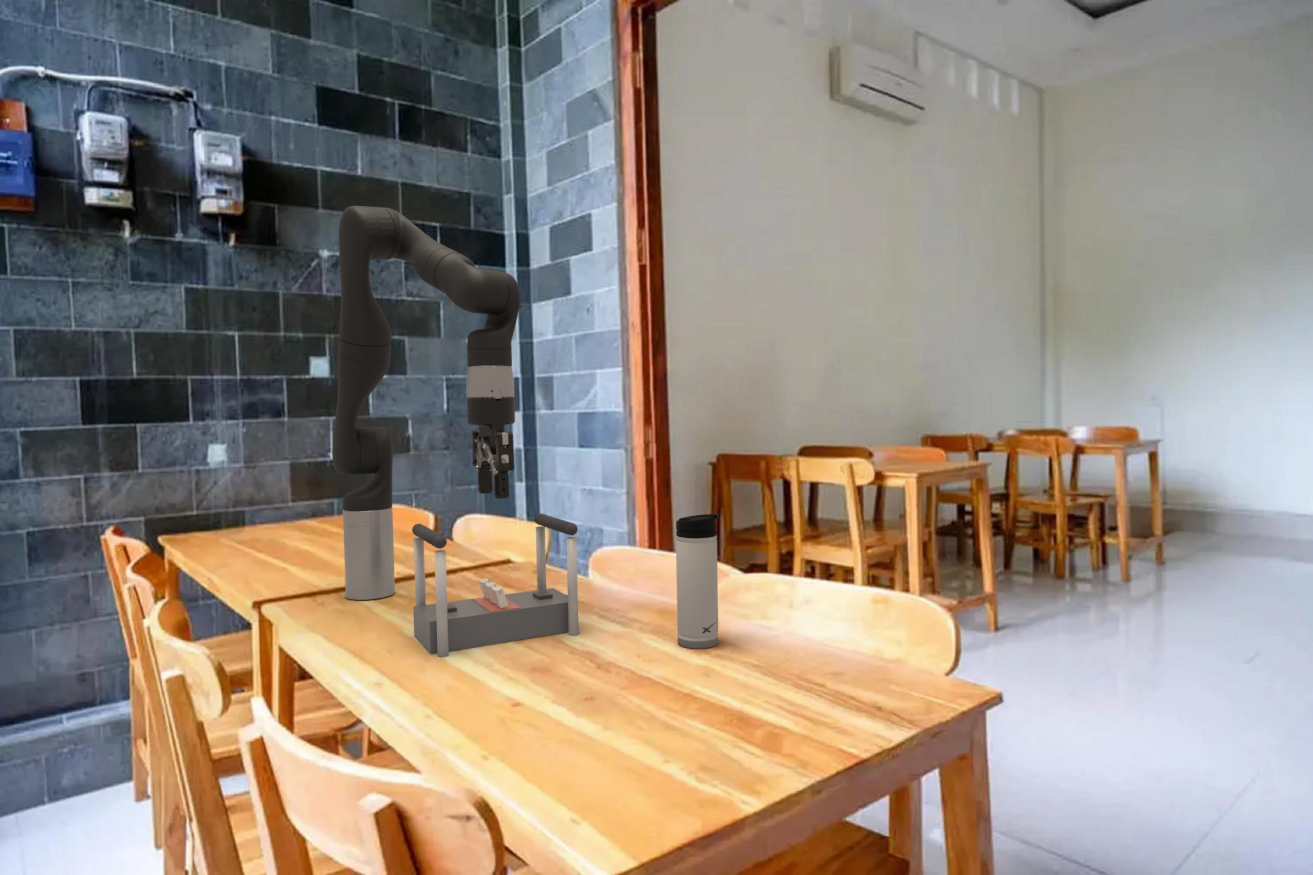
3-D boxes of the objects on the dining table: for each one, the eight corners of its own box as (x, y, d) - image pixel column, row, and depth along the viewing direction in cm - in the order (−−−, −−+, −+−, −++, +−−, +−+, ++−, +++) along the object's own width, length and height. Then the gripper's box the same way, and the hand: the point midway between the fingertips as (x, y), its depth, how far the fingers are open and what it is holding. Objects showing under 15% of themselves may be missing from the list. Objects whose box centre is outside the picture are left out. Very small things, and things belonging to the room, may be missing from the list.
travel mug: (717, 650, 122) (716, 516, 121) (674, 648, 123) (672, 516, 122) (723, 638, 128) (721, 511, 127) (681, 636, 129) (679, 510, 128)
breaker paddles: (483, 597, 136) (478, 580, 136) (490, 594, 137) (485, 577, 136) (500, 608, 128) (495, 590, 128) (507, 605, 129) (502, 587, 128)
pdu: (411, 633, 134) (408, 538, 133) (548, 612, 145) (546, 525, 145) (434, 658, 120) (431, 552, 119) (584, 633, 132) (582, 537, 131)
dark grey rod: (532, 524, 144) (532, 513, 143) (543, 523, 144) (543, 512, 144) (568, 536, 129) (567, 524, 129) (579, 535, 130) (579, 523, 130)
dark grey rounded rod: (411, 535, 133) (410, 523, 133) (423, 534, 134) (423, 522, 134) (434, 550, 119) (434, 536, 119) (448, 548, 120) (448, 535, 120)
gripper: (455, 396, 135) (458, 493, 136) (480, 394, 123) (483, 501, 124) (499, 395, 139) (501, 490, 140) (528, 394, 127) (530, 498, 127)
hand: (493, 495), depth 132 cm, fingers open, 8 cm apart
